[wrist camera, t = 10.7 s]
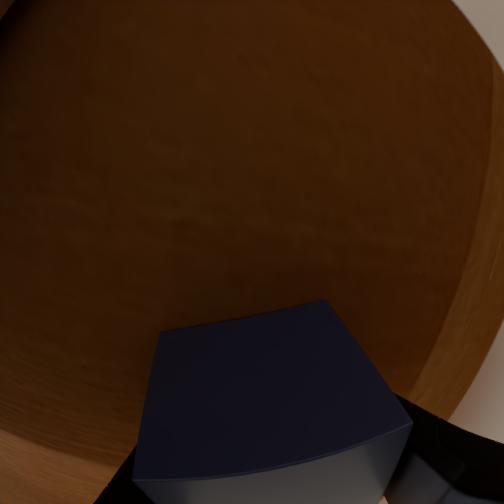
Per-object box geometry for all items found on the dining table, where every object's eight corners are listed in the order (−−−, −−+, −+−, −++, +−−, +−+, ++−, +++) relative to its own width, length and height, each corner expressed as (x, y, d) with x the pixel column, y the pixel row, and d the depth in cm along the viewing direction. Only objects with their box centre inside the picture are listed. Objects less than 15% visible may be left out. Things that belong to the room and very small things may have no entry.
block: (326, 298, 8) (414, 422, 4) (328, 407, 10) (374, 511, 6) (159, 331, 8) (130, 480, 4) (201, 433, 10) (207, 547, 5)
